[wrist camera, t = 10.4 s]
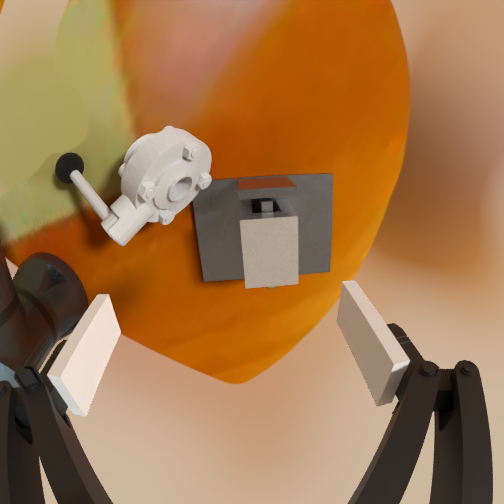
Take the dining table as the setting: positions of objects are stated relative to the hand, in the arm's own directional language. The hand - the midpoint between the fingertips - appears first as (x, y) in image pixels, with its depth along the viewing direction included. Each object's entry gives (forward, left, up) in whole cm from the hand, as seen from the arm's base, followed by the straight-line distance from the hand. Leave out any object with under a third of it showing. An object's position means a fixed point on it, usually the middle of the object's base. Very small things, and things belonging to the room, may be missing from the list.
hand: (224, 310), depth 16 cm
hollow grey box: (+4, -4, -23) cm, 24 cm away
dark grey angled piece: (+4, -4, -24) cm, 24 cm away
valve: (-12, +6, -24) cm, 27 cm away
